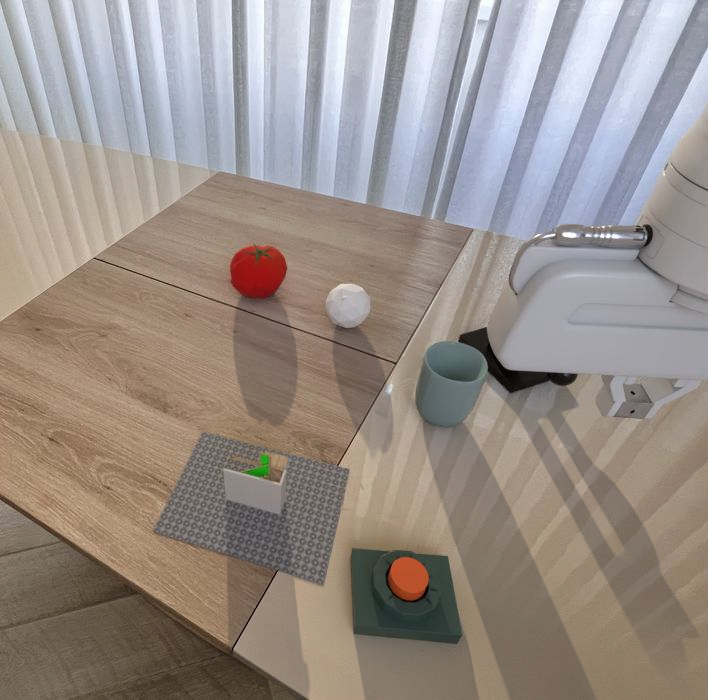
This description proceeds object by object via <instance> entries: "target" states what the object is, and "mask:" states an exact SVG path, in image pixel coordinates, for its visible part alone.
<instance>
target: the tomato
mask: <svg viewBox="0 0 708 700" xmlns="http://www.w3.org/2000/svg"><path fill="white" fill-rule="evenodd" d="M286 261H287V260H286V258H285V256H284V255H283V253H282V252H281V251H280V250H279V249H278V248H277V247H275V246H274V245H265V246H262V245H256V244H255V243H253V245H248V246H245V247H242V248H240V249H239V250H238V251H237V252H236V253H235V254H234V255H233V257H232V259H231V260H230V264H229V272H230V273H229V274H230V283H231V285H232V287H233V288H234V289H235V290H236V291H237V292H238V293H240V294H241V295H243V296H245V297H248V298H254V299H265V298H267V297H270V296H271V295H273V294H274V293H276V292H277V291H278V289H279V288H280V286H281V285H282V283H283V281H284V280H285V278H286V275H287V271H288V265H287V262H286Z"/></svg>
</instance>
